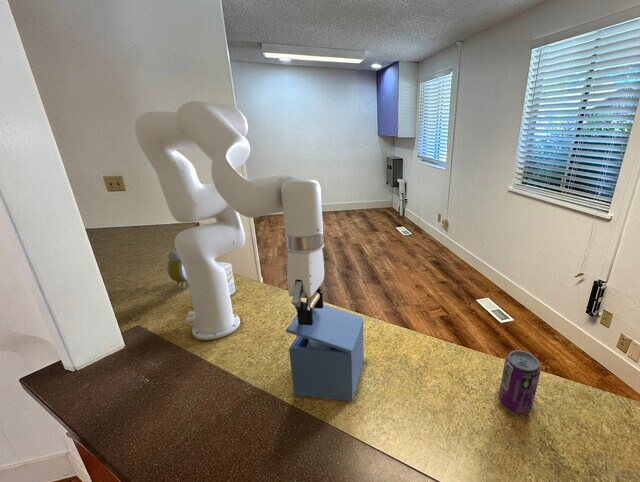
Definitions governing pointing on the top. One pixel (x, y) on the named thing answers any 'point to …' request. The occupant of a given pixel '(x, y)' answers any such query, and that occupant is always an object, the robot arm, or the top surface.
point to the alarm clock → (176, 268)
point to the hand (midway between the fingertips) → (311, 314)
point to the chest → (326, 369)
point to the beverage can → (519, 382)
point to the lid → (329, 326)
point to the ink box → (228, 276)
